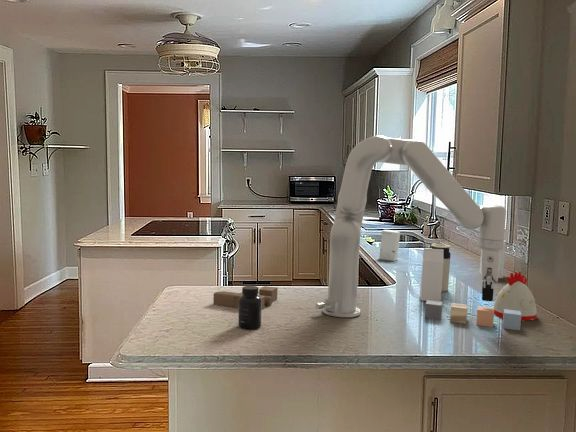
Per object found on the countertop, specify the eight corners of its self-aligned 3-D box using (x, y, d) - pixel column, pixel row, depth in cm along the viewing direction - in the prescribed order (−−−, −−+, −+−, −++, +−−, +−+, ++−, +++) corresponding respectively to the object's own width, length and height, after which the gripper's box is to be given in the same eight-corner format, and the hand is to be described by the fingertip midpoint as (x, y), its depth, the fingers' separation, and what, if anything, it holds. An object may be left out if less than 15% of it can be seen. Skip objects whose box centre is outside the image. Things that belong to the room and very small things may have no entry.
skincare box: (379, 259, 294) (380, 230, 293) (382, 257, 300) (384, 229, 298) (395, 261, 290) (396, 231, 289) (398, 259, 296) (400, 230, 294)
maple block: (466, 323, 185) (467, 308, 185) (449, 321, 187) (451, 306, 186) (466, 319, 190) (467, 304, 190) (450, 317, 192) (451, 303, 191)
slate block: (520, 330, 180) (521, 314, 180) (502, 328, 182) (504, 312, 181) (519, 326, 185) (520, 311, 184) (502, 324, 187) (503, 309, 186)
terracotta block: (492, 327, 183) (494, 311, 182) (476, 325, 184) (477, 309, 184) (492, 322, 187) (493, 307, 187) (476, 320, 189) (477, 306, 188)
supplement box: (503, 278, 258) (506, 241, 256) (482, 277, 260) (484, 240, 258) (499, 274, 268) (502, 238, 266) (478, 273, 269) (481, 237, 267)
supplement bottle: (249, 321, 178) (250, 283, 176) (265, 326, 173) (267, 287, 172) (233, 326, 172) (234, 287, 171) (250, 331, 168) (251, 291, 167)
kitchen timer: (484, 311, 202) (487, 268, 200) (515, 308, 207) (519, 267, 205) (512, 322, 189) (516, 277, 187) (545, 319, 194) (549, 275, 192)
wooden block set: (262, 296, 189) (212, 289, 195) (261, 313, 190) (212, 306, 195) (280, 285, 205) (234, 279, 211) (280, 301, 205) (233, 295, 211)
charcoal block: (440, 320, 188) (441, 305, 187) (424, 318, 189) (425, 303, 189) (441, 316, 193) (442, 302, 192) (426, 314, 194) (427, 300, 194)
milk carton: (440, 302, 211) (444, 251, 209) (420, 300, 212) (424, 249, 210) (439, 298, 218) (443, 248, 216) (420, 296, 219) (423, 246, 217)
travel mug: (427, 290, 229) (430, 245, 227) (427, 286, 236) (430, 243, 234) (448, 292, 227) (451, 247, 225) (447, 288, 234) (450, 244, 233)
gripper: (504, 249, 174) (500, 305, 176) (502, 241, 190) (499, 292, 192) (478, 247, 176) (474, 302, 178) (478, 239, 192) (475, 290, 194)
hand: (487, 297), depth 185 cm, fingers open, 9 cm apart
